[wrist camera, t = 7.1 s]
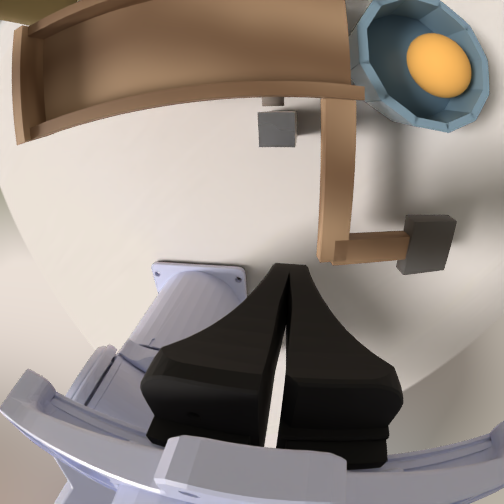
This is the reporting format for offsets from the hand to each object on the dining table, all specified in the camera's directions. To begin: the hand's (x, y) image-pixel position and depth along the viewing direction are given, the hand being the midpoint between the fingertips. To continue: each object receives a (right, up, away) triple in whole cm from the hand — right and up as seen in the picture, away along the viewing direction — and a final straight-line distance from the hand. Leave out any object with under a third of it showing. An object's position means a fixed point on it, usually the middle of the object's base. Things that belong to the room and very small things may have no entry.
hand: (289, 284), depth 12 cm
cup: (+8, +13, +1) cm, 15 cm away
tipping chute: (-1, +7, +1) cm, 8 cm away
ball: (+9, +12, -1) cm, 15 cm away
